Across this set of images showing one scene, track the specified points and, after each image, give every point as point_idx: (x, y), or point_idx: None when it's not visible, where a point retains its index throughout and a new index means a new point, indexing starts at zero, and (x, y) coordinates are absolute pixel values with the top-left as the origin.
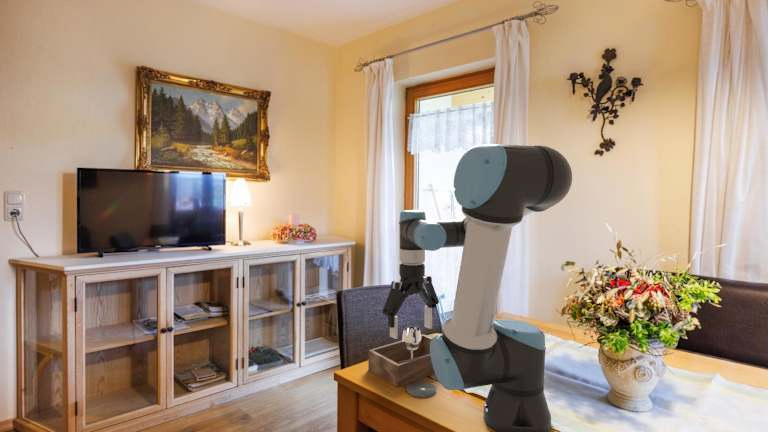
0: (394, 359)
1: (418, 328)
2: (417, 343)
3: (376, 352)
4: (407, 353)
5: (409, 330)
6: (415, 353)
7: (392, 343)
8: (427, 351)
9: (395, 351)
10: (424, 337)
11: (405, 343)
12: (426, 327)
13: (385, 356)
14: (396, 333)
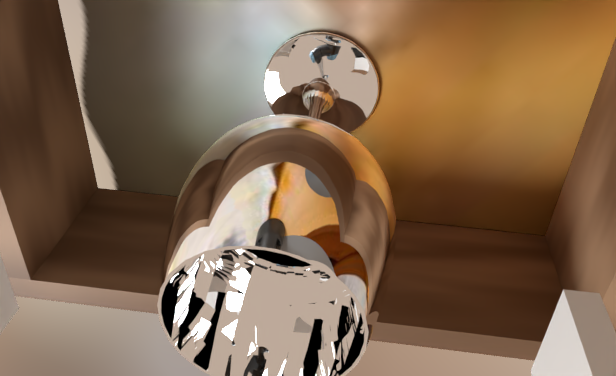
0: None
1: (161, 295)
2: (299, 135)
3: None
4: None
5: (231, 344)
6: (160, 206)
7: None
8: (74, 165)
9: None
10: (31, 258)
11: (395, 223)
12: (8, 280)
13: (440, 270)
14: (605, 352)
